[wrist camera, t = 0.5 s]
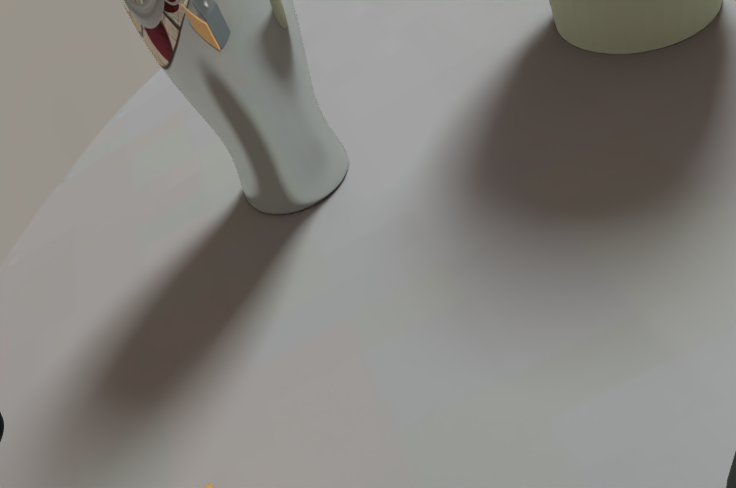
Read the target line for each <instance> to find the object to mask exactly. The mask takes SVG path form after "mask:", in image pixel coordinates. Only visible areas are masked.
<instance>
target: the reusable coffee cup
mask: <svg viewBox="0 0 736 488" xmlns="http://www.w3.org/2000/svg"><path fill="white" fill-rule="evenodd" d="M549 2H550V5H551V9H552V13H553V16H554V20H555V24H556V27H557V31H558V32H559V34H560V35H561V36H562V38H563V39H565V40H566V41H567V42H569V43H570V44H572V45H574V46H576V47H579V48H581V49H584V50H588V51H592V52H597V53H606V54H630V53H639V52H646V51H651V50H655V49H660V48H664V47H667V46H669V45H672V44H675V43H678V42H680V41H683V40H685V39H687V38H689V37H691V36H693V35H695V34H696V33H698V32H699V31H701V30H702V29H704V28H705V27H706V26H707V25H708V24H709V23H710V22H711V21H712V20H713V19H715V17H716V15H717V14H718V12H719V11H720V9H721V4H722V0H549Z"/></svg>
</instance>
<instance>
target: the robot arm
mask: <svg viewBox="0 0 736 488" xmlns="http://www.w3.org/2000/svg"><path fill="white" fill-rule="evenodd" d="M3 431H4V421H3V417H2V415H1V413H0V441H1V439H2V436H3ZM726 488H736V452H735V456H734V459H733V462H732V466H731V469H730V473H729V476H728V480H727V486H726Z"/></svg>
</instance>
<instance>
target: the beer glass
mask: <svg viewBox="0 0 736 488" xmlns="http://www.w3.org/2000/svg"><path fill="white" fill-rule="evenodd" d="M121 1H122V3H123V5H124V7H125V9H126V11H127V13H128V14H129V16H130V18H131V20H132V22H133V23H134V25H135V27H136V29H137V31H138V33H139V34H140V36H141V38H142V39H143V41H144V42H145V44H146V45H147V47H148V49H149V50H150V52H151V53H152V55H153V56H154V58H155V60H156V61H157V62H158V64H159V65H160V66H161V68H162V69H163V70H164V72H165V73H166V74H167V75H168V77H169V78H170V79H171V81H172V82H173V83H174V85H175V86H176V87H177V88H178V89H179V91H180V92H181V93H182V94H183V95H184V96H185V98H186V99H187V100H188V101H189V102H190V103H191V105H192V106H193V107H194V108H195V109H196V110H197V112H198V113H199V114H200V115H201V116H202V117H203V118H204V120H205V121H206V122H207V123H208V124H209V125H210V127H211V128H212V129H213V130H214V132H215V133H216V134H217V135H218V137H219V138H220V139H221V141H222V142H223V144H224V145H225V147H226V148H227V150H228V152H229V154H230V156H231V157H232V159H233V162H234V164H235V167H236V169H237V173H238V176H239V179H240V182H241V185H242V188H243V191H244V194H245V196H246V198H247V200H248V202H249V203H250V204H251V205H252V206H253V207H254V208H255V209H257V210H259V211H261V212H264V213H268V214H288V213H293V212H297V211H300V210H303V209H306V208H308V207H311V206H313V205H315V204H316V203H318V202H320V201H321V200H323V199H324V198H326V197H327V196H328V195H329V194H331V193H332V192H333V191H334V190H335V189H336V188H337V186H338V185H339V184H340V183H341V181H342V180H343V178H344V176H345V174H346V172H347V168H348V155H347V152H346V150H345V148H344V146H343V144H342V143H341V141H340V140H339V138H338V137H337V136H336V134H335V133H334V131H333V130H332V128H331V127H330V126H329V124H328V122H327V121H326V119H325V118H324V116H323V114H322V111H321V109H320V107H319V105H318V102H317V99H316V96H315V94H314V90H313V86H312V82H311V77H310V73H309V68H308V63H307V58H306V54H305V49H304V44H303V40H302V35H301V31H300V26H299V22H298V19H297V15H296V11H295V8H294V4H293V0H121Z"/></svg>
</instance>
